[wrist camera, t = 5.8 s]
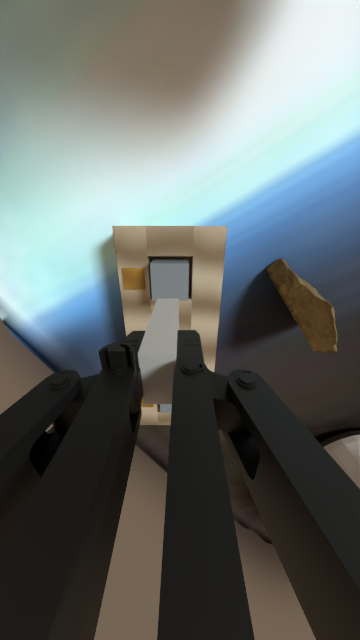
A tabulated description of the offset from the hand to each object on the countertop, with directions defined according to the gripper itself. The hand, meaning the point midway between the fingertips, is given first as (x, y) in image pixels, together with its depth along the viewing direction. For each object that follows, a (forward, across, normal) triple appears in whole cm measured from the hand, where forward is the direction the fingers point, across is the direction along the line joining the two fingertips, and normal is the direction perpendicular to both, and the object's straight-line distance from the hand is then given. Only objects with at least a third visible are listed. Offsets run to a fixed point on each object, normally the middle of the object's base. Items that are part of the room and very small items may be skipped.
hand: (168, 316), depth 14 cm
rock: (+14, +17, -2) cm, 22 cm away
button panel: (+14, 0, -9) cm, 16 cm away
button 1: (+11, 0, 0) cm, 11 cm away
